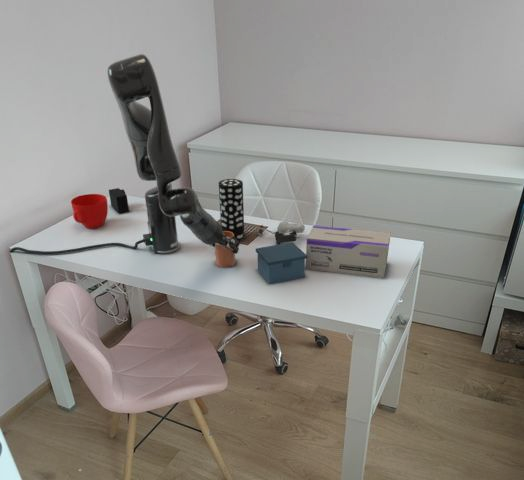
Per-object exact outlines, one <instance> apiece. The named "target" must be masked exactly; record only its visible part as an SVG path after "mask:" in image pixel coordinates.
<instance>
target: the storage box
mask: <svg viewBox="0 0 524 480" xmlns="http://www.w3.org/2000/svg"><path fill="white" fill-rule="evenodd" d="M254 250H255V253H256V254H257V271H258V272H259V274H260V275H261V276H262V277H263V278H264V280H266V282H267V283H268V284H274V283H280V282H284V281H285V282H286V281H291V280H295V279H296V280H297V279H300V278H305V270H306V259H307V255H306V252H304V251H303V250H302V249H301V248H300V247H299V246H297V244H296V243H295V242H284V243H281V244H279V245H277V244H275V245H268V246H262V247H256V248H255V249H254Z"/></svg>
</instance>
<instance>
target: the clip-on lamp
mask: <svg viewBox="0 0 524 480" xmlns="http://www.w3.org/2000/svg"><path fill="white" fill-rule="evenodd" d="M305 229H306V226H305V224H304V223H302V222H295V223H294V222H292V223H290V222H288V221H284V220H283V221H281V222H279V223H278V225H277V227H276V230H277V231H275V232H274V231H271V230H269V229H266V228H264V224H260V225H259V227H257V228H256V229H255V231H256V234H257V235H258V236H261V235H263V231H266V232H267V233H268V232H269V233H270V234H273V235H274V239H275V242H276V245H279V244H284V243H291V242H293V243H295V242H296V241H297V238H298V239H300V238H301V237H300V236H299V235H298V234H302V233H304V232H305Z"/></svg>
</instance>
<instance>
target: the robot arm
mask: <svg viewBox="0 0 524 480" xmlns="http://www.w3.org/2000/svg"><path fill="white" fill-rule="evenodd" d="M106 73H107V74H106V75H107V79H108V80H107V81H108V83H109V86H110V89H111V92H112V94H113V97H114V99H115V101H116V103H117V106H118V109H119V112H120V115H121V119H122V123H123V127H124V130H125V133H126V136H127V139H128V142H129V144H130V148H131V151H132V154H133V159H134V160H133V161H134V164H135V169H136V173H137V175H138V177H139V179H141V180H142V181H145V182H152V181H153V182H156V186H154V187H152V188H150V189H148V190H147V191H145V193H144V201H145V208H146V215H147V230H148V233H144V234H143V233H142V238H143V239H139V240H138V241H136V242H135V243H134V246H131V245H128V244H125V243H122V242H108V243H107V242H106V243H101V244H95V245H88V246H83V247H78V248H69V249H63V250H54V251H53V250H51V251H48V250H46V251H45V250H31V249H27V248H23V247H19V246H14V247H12V248H11V249H10V250H9V253H13V252H15V251H21V252H24V253H28V254H37V255H59V254H66V253H73V252H80V251H85V250H92V249H96V248H103V247H112V246H114V247H115V246H118V247H123V248H127V249H129V250H130V249H131V250H136V249H138V247H139V245H140V244H142V243H144V245H145V246H146V247H149V246H150V249H151V251H152V252H153V254H171V253H174V252H177V251H178V250H179V249H180V245H179V237H178V229H177V228H178V227H177V218H176V217H177V216H179V218H180V220H181V222H182V223H183V225H184V226H185V227H187V228H188V229H189V230H190V231H191V232H192V234H193V235H194V236H195V237H196V238H197V239H199V240H200V242H202V243H203V244H205V245H207V246H208V245H209V246H211V247H213V248H214V249H215V244H217V245H220V246H222V247H224V248H228V249H230V250H231V251H232V252H233V253H234V254H235V255H237V254H238V253H239V250H240V248H239V246H240V241H237V239H236V238H235V237H234V236H231V238H229V237H228V236H226V235H225V234H224V233H223V231H222V227H221V223H219V222H218V221H217V220H216V219H215V218H214V217H213V216H212V215H211V214H210V213H208V212H207V211H206V210H205V209H204V208H203V206H202V205H201V203H200V200H199V198H198V195H197V193H196V191H195V190H194V189H193V188H191V187H189V186H183V187H178V188H174V189H173V183H174V182H175V181H178V180H179V179H181V178H182V174H183V173H182V169H181V165H180V162H179V160H178V156H177V153H176V151H175V148H174V144H173V141H172V137H171V133H170V129H169V125H168V119H167V115H166V111H165V107H164V102H163V99H162V95H161V90H160V86H159V82H158V79H157V78H158V77H157V75H156V72H155V70H154V67H153V64H152V63H151V61H150V59H149V58H148V57H147V55H145V54H144V53H139V54H136V55H133V56H129V57H127V58H124V59H121V60H120V59H119V60H118V61H117V60H116V61H115V62H113V63H110V65H108V66H107V71H106ZM145 98H148V100H149V105H150V108H148V107H147V106H145V105H144V104H142V103H140V102H138V101H140V100H142V99H145ZM225 242H226V243H225ZM224 243H225V245H224ZM229 245H230V246H229Z"/></svg>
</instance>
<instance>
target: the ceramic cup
mask: <svg viewBox="0 0 524 480" xmlns="http://www.w3.org/2000/svg"><path fill="white" fill-rule="evenodd" d="M70 204H71V208H72V210H73V214H72V216H73V219H74V221H75V222H76V223H78V224H82V225H83V226H84V227H85V228H86V229H97V228H100V227H102V226H103V225H104V224H105V221H106V220H107V217H108V214H109V213H108V212H109V206H108V205H109V204H108V199H107V196H106V195H104V194H100V193H88V194H86V193H85V194H81V195H78V196H76V197H74V198H72V199H71V201H70Z"/></svg>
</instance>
